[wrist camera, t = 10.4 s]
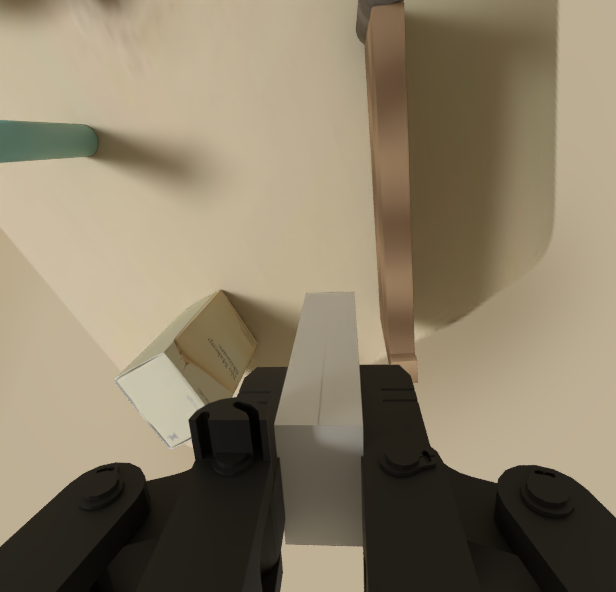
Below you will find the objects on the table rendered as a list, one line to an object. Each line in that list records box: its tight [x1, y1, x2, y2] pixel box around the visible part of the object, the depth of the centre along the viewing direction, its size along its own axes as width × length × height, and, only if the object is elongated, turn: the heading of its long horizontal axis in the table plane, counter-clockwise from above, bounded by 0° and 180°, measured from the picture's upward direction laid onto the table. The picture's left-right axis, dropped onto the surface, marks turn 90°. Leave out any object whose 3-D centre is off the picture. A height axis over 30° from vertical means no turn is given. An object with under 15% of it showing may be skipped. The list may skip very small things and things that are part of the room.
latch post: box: [0, 120, 98, 163], centre depth 28 cm, size 2×2×13 cm
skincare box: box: [114, 290, 258, 450], centre depth 33 cm, size 6×4×12 cm
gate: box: [356, 0, 418, 383], centre depth 27 cm, size 22×2×13 cm, turn 6°
